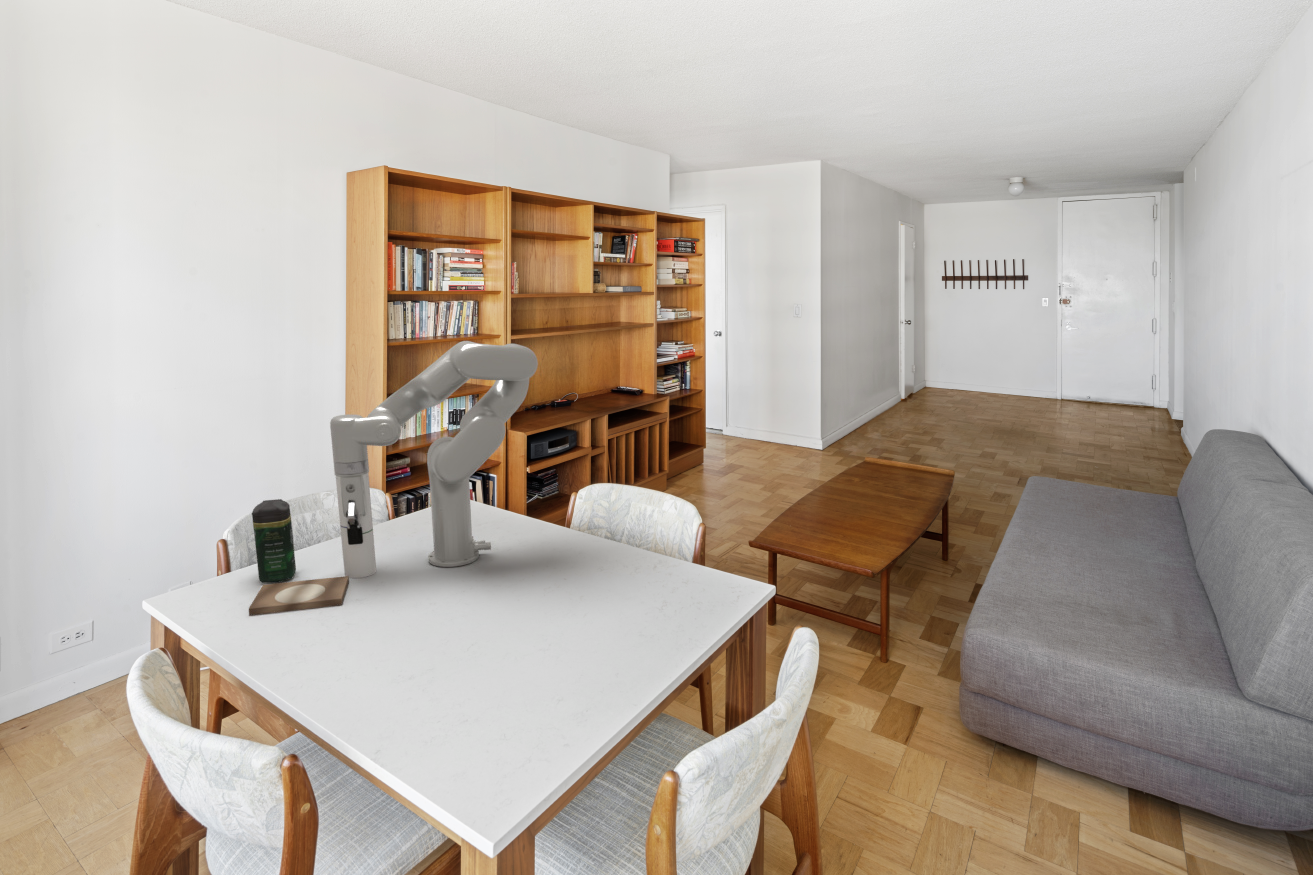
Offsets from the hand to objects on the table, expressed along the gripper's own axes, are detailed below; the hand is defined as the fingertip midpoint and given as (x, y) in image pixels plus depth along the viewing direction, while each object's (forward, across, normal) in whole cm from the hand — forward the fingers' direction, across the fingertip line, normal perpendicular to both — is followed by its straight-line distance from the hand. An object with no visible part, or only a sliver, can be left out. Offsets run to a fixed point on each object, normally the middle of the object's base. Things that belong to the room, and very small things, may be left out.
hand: (357, 537), depth 168 cm
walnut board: (+9, -12, +11) cm, 19 cm away
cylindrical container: (+9, 0, 0) cm, 9 cm away
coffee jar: (+9, +3, +18) cm, 21 cm away
